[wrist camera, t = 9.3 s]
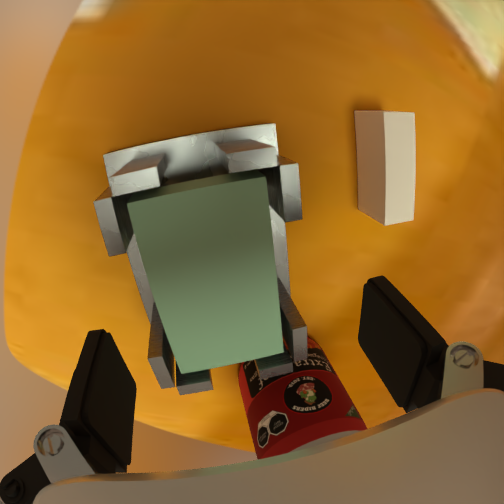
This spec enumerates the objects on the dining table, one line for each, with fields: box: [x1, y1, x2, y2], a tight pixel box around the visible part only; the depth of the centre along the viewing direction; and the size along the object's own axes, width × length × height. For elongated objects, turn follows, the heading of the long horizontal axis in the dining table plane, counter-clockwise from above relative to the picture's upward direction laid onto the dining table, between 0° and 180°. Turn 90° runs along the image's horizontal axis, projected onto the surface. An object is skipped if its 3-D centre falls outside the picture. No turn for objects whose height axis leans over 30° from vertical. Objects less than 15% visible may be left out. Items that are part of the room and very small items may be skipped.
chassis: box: [94, 123, 307, 395], centre depth 17 cm, size 14×10×6 cm
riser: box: [354, 110, 416, 225], centre depth 19 cm, size 7×2×4 cm, turn 6°
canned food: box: [238, 336, 367, 460], centre depth 21 cm, size 8×8×11 cm
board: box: [127, 169, 284, 374], centre depth 16 cm, size 10×6×2 cm, turn 7°
